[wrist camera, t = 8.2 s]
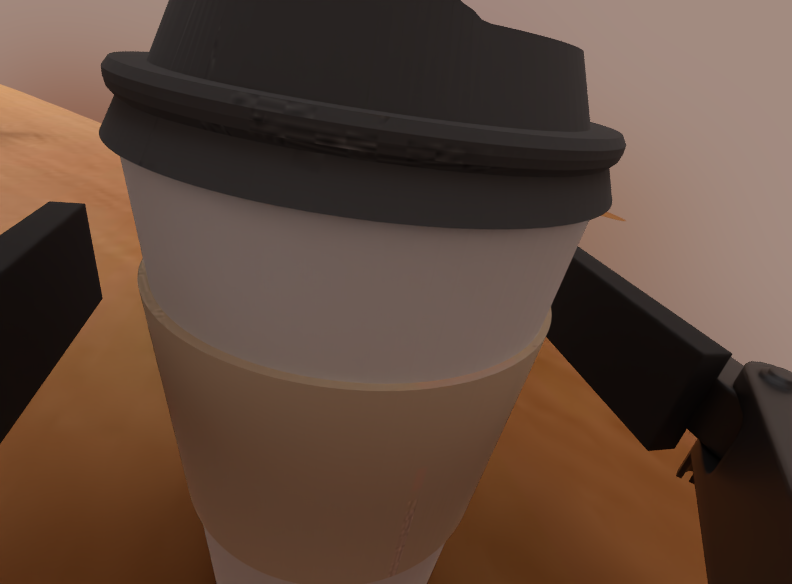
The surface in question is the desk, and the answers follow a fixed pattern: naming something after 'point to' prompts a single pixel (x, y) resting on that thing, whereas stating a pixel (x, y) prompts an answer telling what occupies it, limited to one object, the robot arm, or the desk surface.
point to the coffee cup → (348, 262)
